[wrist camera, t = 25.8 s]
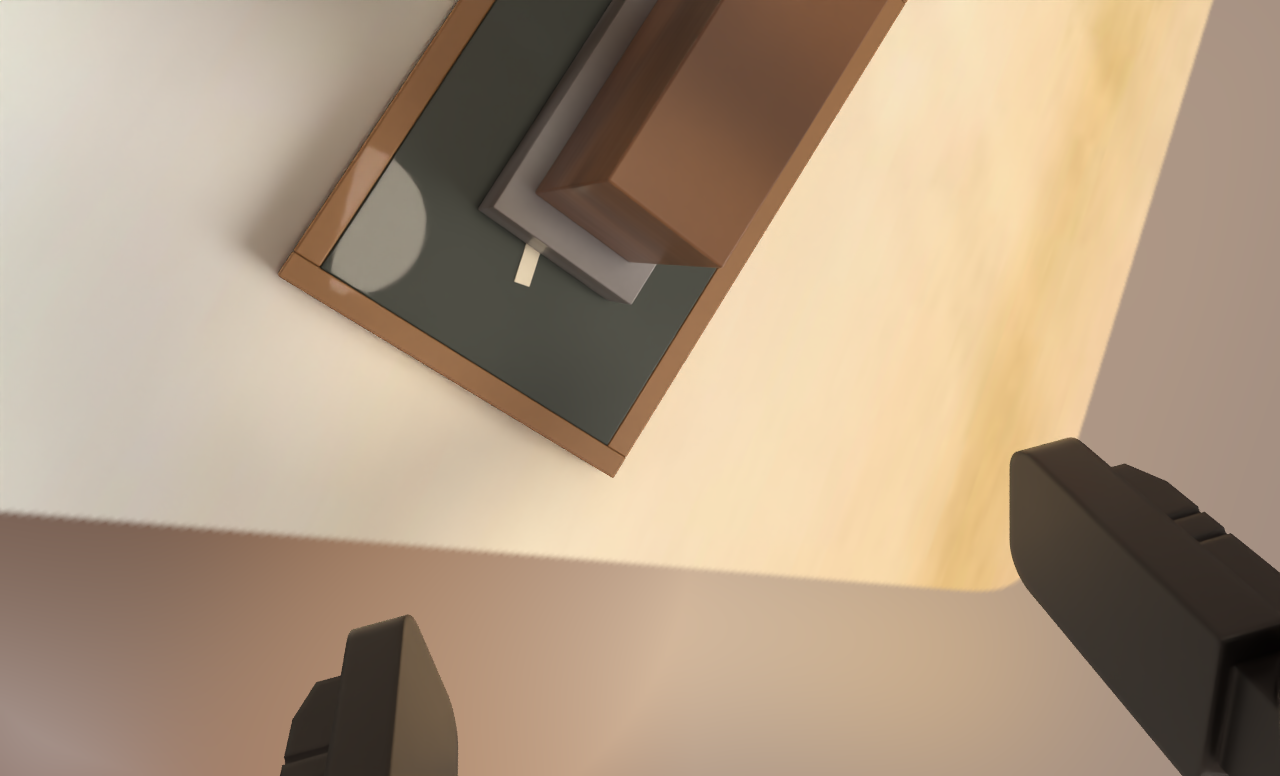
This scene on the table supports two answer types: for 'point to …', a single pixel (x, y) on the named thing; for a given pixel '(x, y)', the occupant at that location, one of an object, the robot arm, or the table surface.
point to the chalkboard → (512, 239)
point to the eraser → (672, 132)
